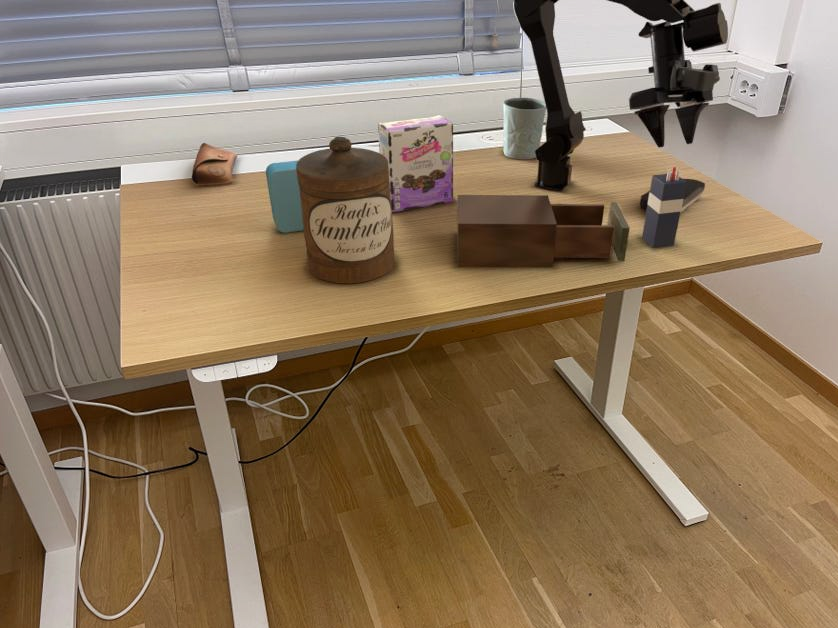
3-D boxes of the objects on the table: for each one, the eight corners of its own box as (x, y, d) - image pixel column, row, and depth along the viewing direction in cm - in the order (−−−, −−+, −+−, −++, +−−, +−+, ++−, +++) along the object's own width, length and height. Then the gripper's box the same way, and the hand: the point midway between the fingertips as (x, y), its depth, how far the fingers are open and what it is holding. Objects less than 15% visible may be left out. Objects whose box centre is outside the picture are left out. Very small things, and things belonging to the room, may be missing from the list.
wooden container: (319, 291, 114) (302, 158, 101) (300, 252, 125) (283, 128, 112) (406, 275, 119) (400, 147, 106) (380, 239, 130) (372, 119, 117)
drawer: (618, 233, 132) (623, 201, 129) (631, 261, 123) (636, 228, 120) (530, 232, 132) (532, 201, 128) (536, 260, 122) (539, 227, 119)
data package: (336, 216, 138) (329, 156, 131) (341, 225, 135) (334, 164, 128) (273, 224, 134) (264, 163, 127) (277, 234, 131) (267, 172, 124)
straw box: (641, 238, 133) (654, 161, 124) (662, 235, 134) (676, 159, 126) (652, 248, 130) (667, 170, 121) (674, 245, 131) (689, 168, 122)
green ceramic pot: (503, 145, 175) (505, 96, 168) (544, 148, 174) (548, 98, 167) (499, 159, 167) (501, 107, 160) (541, 162, 166) (545, 110, 159)
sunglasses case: (234, 181, 150) (212, 156, 146) (208, 199, 151) (186, 174, 147) (238, 153, 164) (218, 130, 160) (214, 170, 165) (193, 147, 161)
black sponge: (673, 222, 139) (677, 205, 137) (635, 211, 143) (637, 194, 141) (705, 198, 150) (708, 181, 148) (668, 188, 154) (671, 172, 152)
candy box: (391, 213, 140) (387, 130, 130) (381, 203, 144) (376, 122, 134) (454, 202, 145) (454, 122, 136) (442, 192, 149) (441, 113, 140)
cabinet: (544, 235, 133) (548, 195, 128) (552, 267, 123) (556, 224, 118) (457, 235, 132) (457, 194, 128) (458, 266, 122) (458, 223, 117)
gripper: (676, 45, 117) (684, 141, 120) (735, 47, 128) (741, 135, 132) (623, 61, 126) (631, 151, 129) (683, 62, 137) (689, 144, 140)
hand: (675, 145), depth 132 cm, fingers open, 9 cm apart
